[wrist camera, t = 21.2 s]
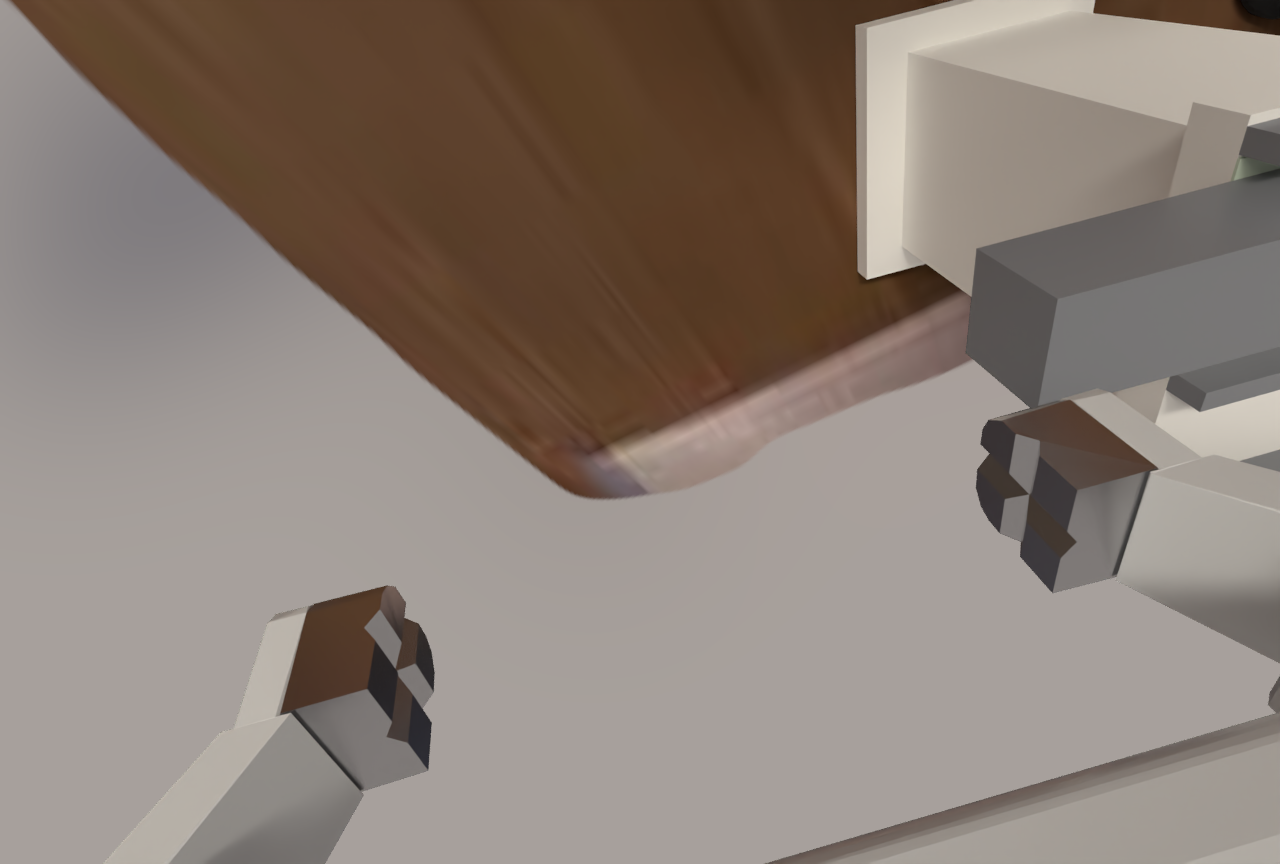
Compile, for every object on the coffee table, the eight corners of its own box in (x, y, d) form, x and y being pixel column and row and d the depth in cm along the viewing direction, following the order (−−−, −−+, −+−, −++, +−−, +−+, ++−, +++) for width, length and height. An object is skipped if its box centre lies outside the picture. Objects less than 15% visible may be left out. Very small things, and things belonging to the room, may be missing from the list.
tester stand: (855, 25, 41) (1365, 141, 17) (1082, -33, 41) (1879, 3, 18) (857, 271, 50) (1191, 565, 26) (1042, 221, 50) (1531, 467, 27)
